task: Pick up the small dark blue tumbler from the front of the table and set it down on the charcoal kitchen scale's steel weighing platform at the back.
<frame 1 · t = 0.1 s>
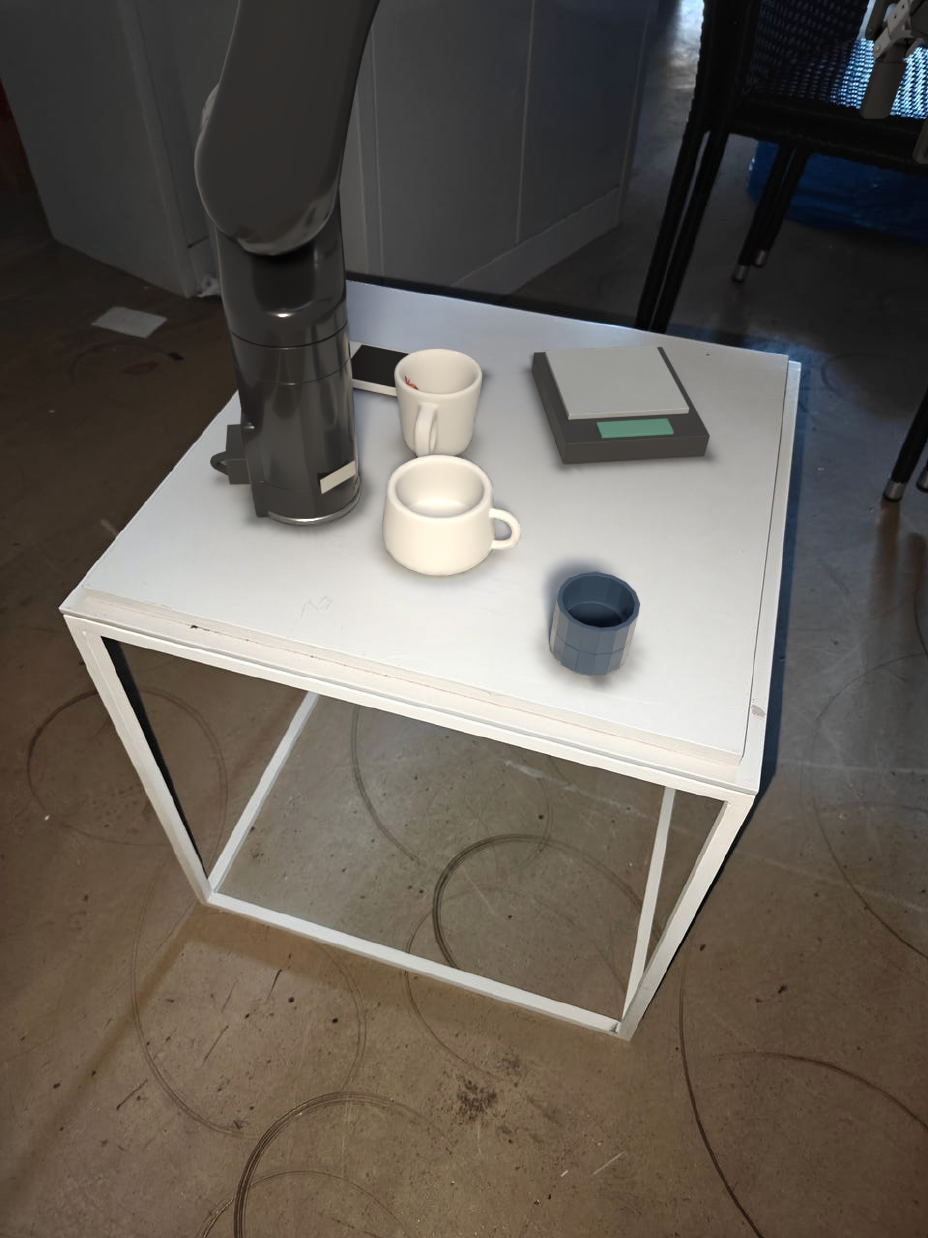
hand: (898, 138, 65), 29 cm above the table, tool pointing down, fingers open, 8 cm apart
mug: (451, 545, 77), on the table
cup: (434, 453, 86), on the table
scale: (613, 412, 91), on the table
smartphone: (401, 378, 94), on the table
dark blue tumbler: (588, 649, 69), on the table
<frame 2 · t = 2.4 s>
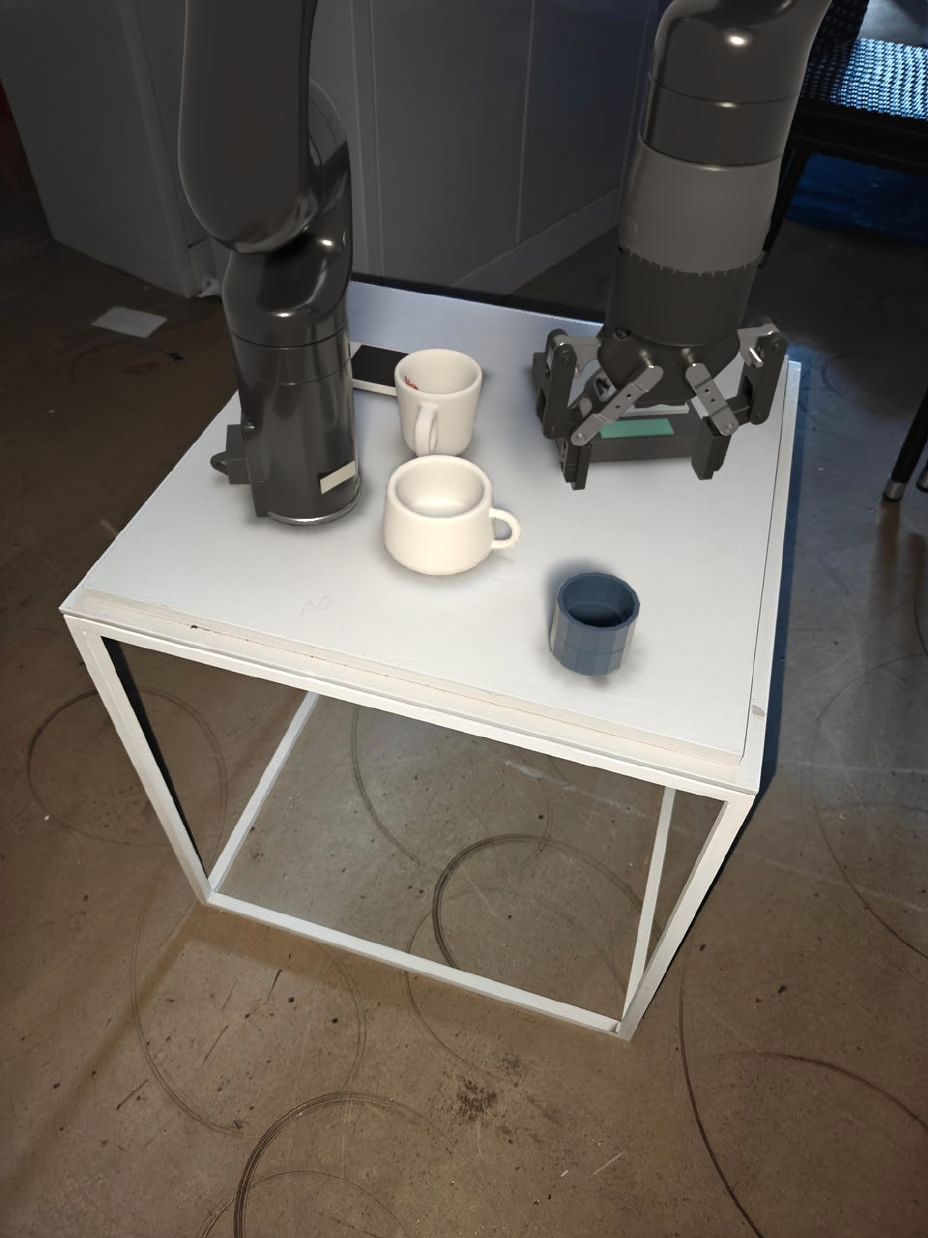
hand: (637, 477, 59), 16 cm above the table, tool pointing down, fingers open, 8 cm apart
nothing on the table moved.
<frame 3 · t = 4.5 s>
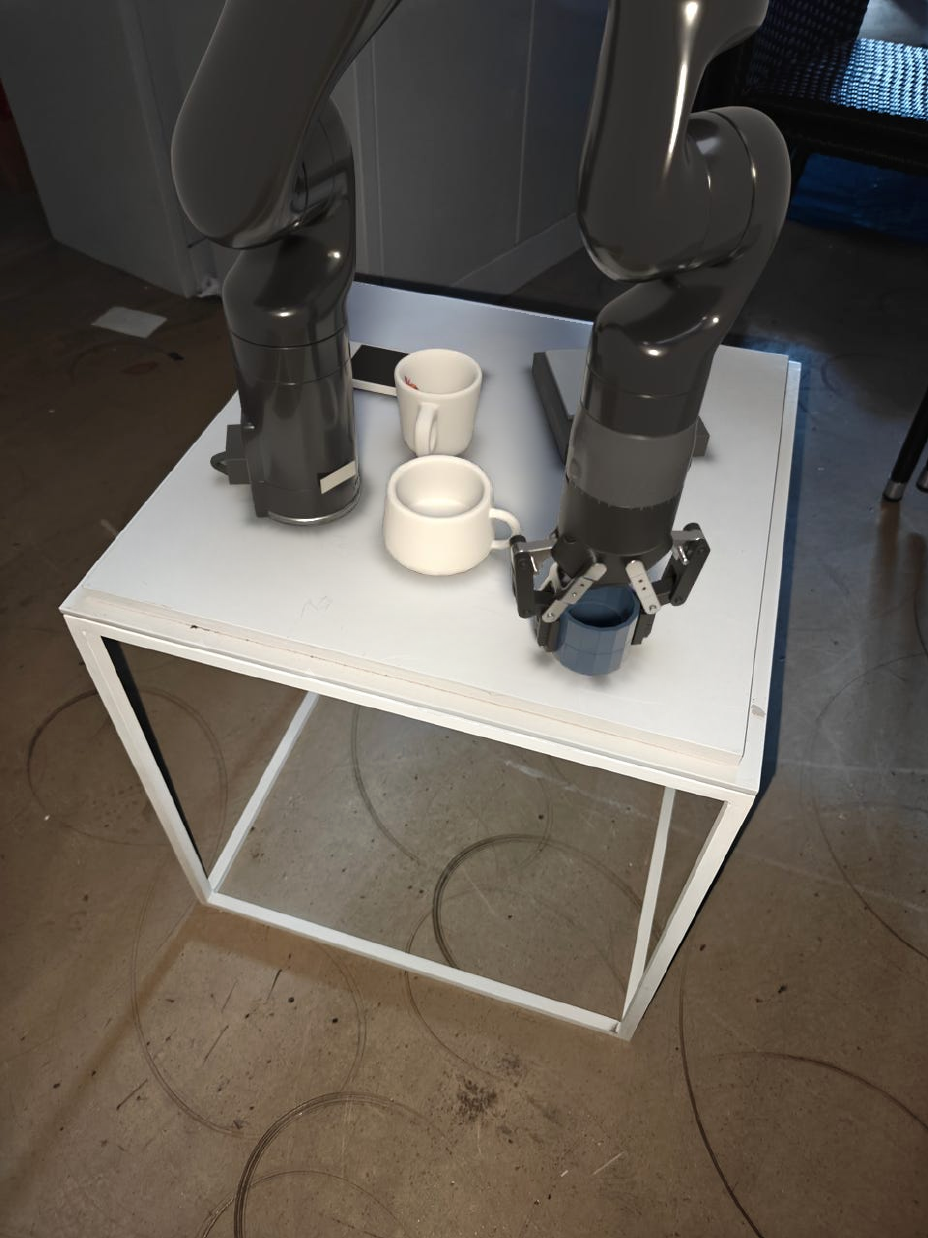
hand: (590, 639, 68), 1 cm above the table, tool pointing down, fingers closed on dark blue tumbler, 6 cm apart
dark blue tumbler: (588, 649, 69), on the table, touching gripper
everything else where it was.
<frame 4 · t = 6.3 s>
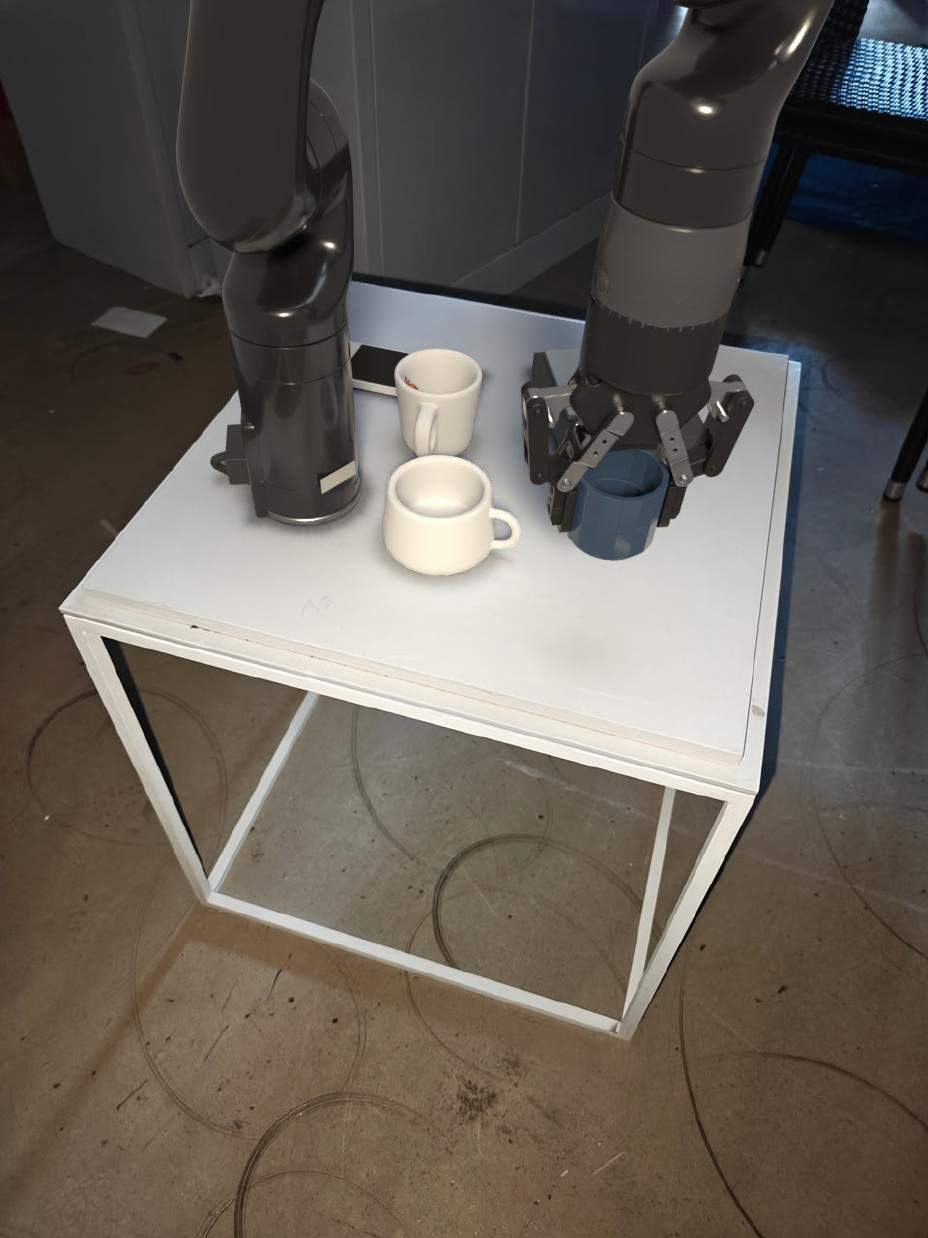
hand: (609, 521, 60), 13 cm above the table, tool pointing down, fingers closed on dark blue tumbler, 6 cm apart
dark blue tumbler: (607, 534, 61), point 12 cm above the table, touching gripper
everything else where it was.
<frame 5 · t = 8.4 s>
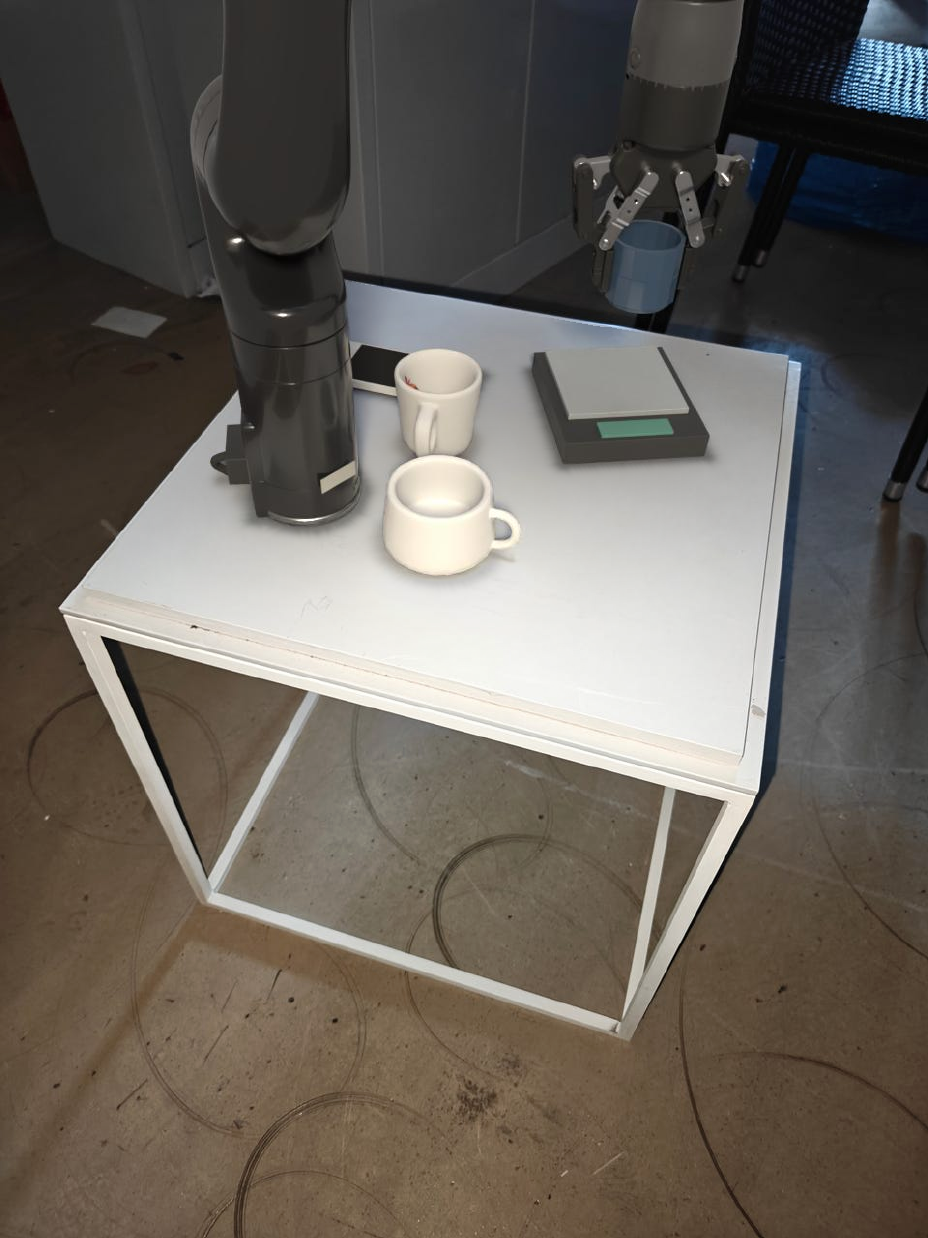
hand: (639, 285, 76), 16 cm above the table, tool pointing down, fingers closed on dark blue tumbler, 6 cm apart
dark blue tumbler: (637, 298, 77), point 15 cm above the table, touching gripper
everything else where it was.
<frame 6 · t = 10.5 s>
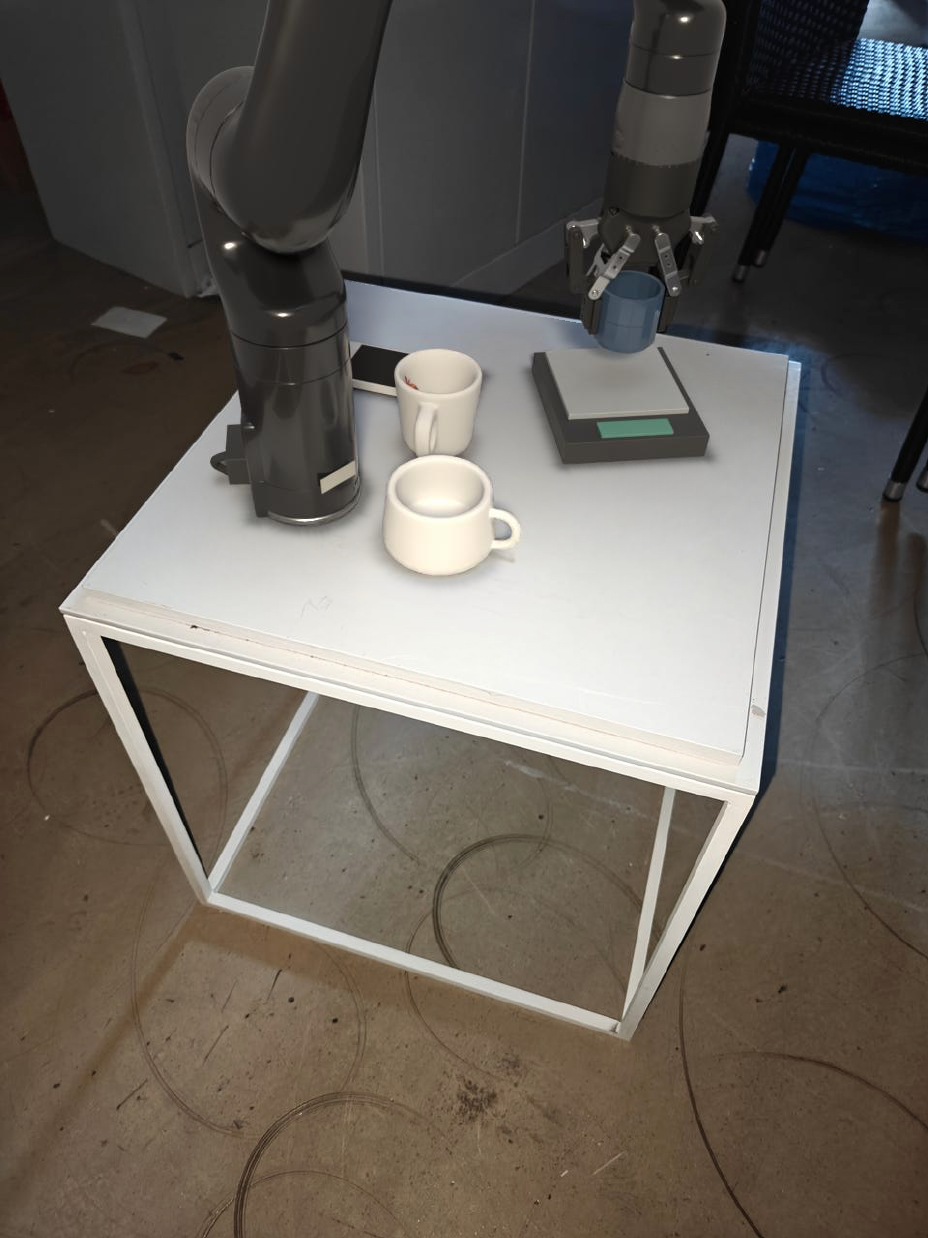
hand: (624, 328, 86), 8 cm above the table, tool pointing down, fingers closed on dark blue tumbler, 6 cm apart
dark blue tumbler: (622, 339, 87), point 7 cm above the table, touching gripper
everything else where it was.
when the fingers open (4 cm above the table, at t = 12.2 s): dark blue tumbler stays where it is, resting on scale.
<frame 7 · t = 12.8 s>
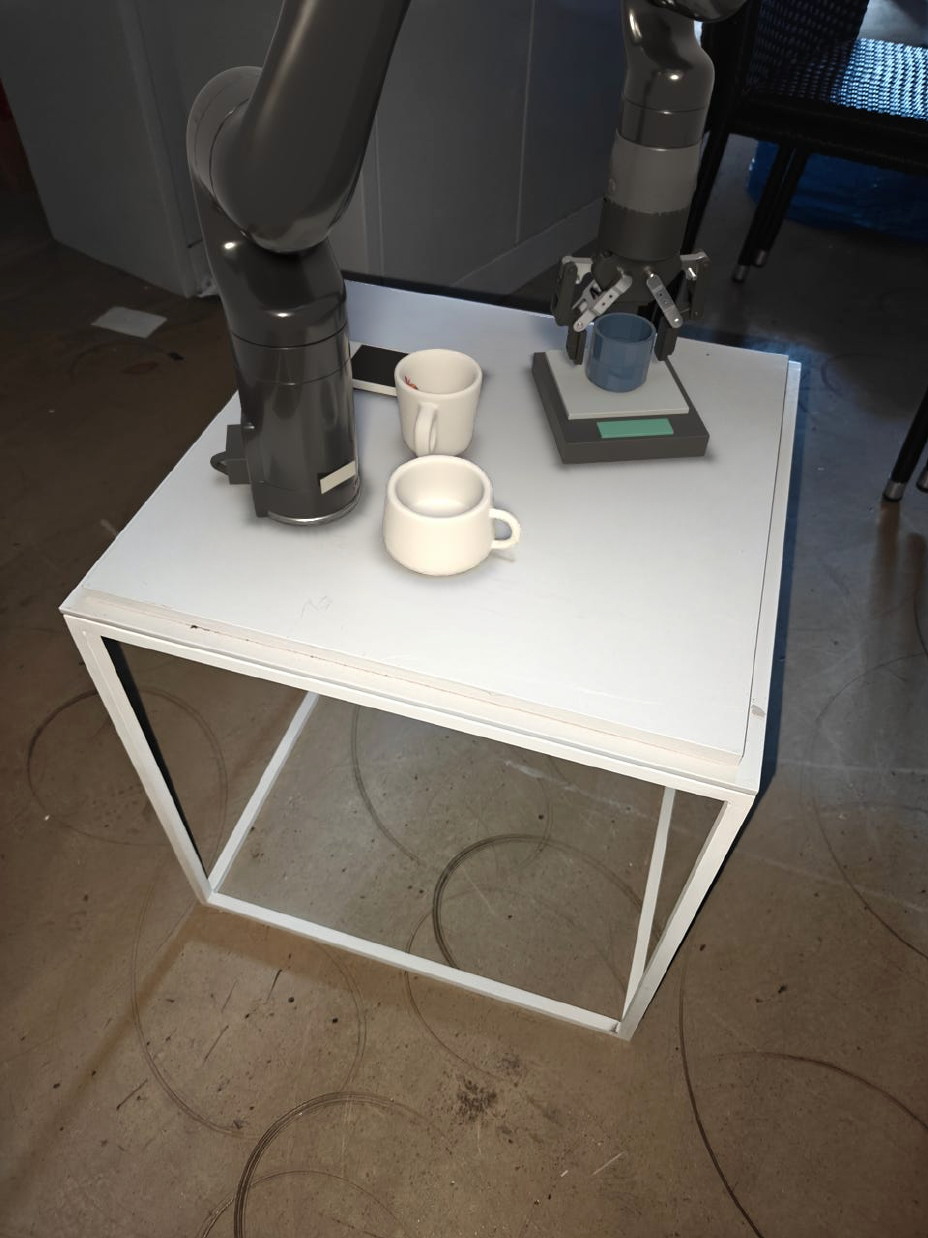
hand: (617, 358, 88), 5 cm above the table, tool pointing down, fingers open, 8 cm apart
dark blue tumbler: (615, 378, 90), point 3 cm above the table, touching scale
everything else where it was.
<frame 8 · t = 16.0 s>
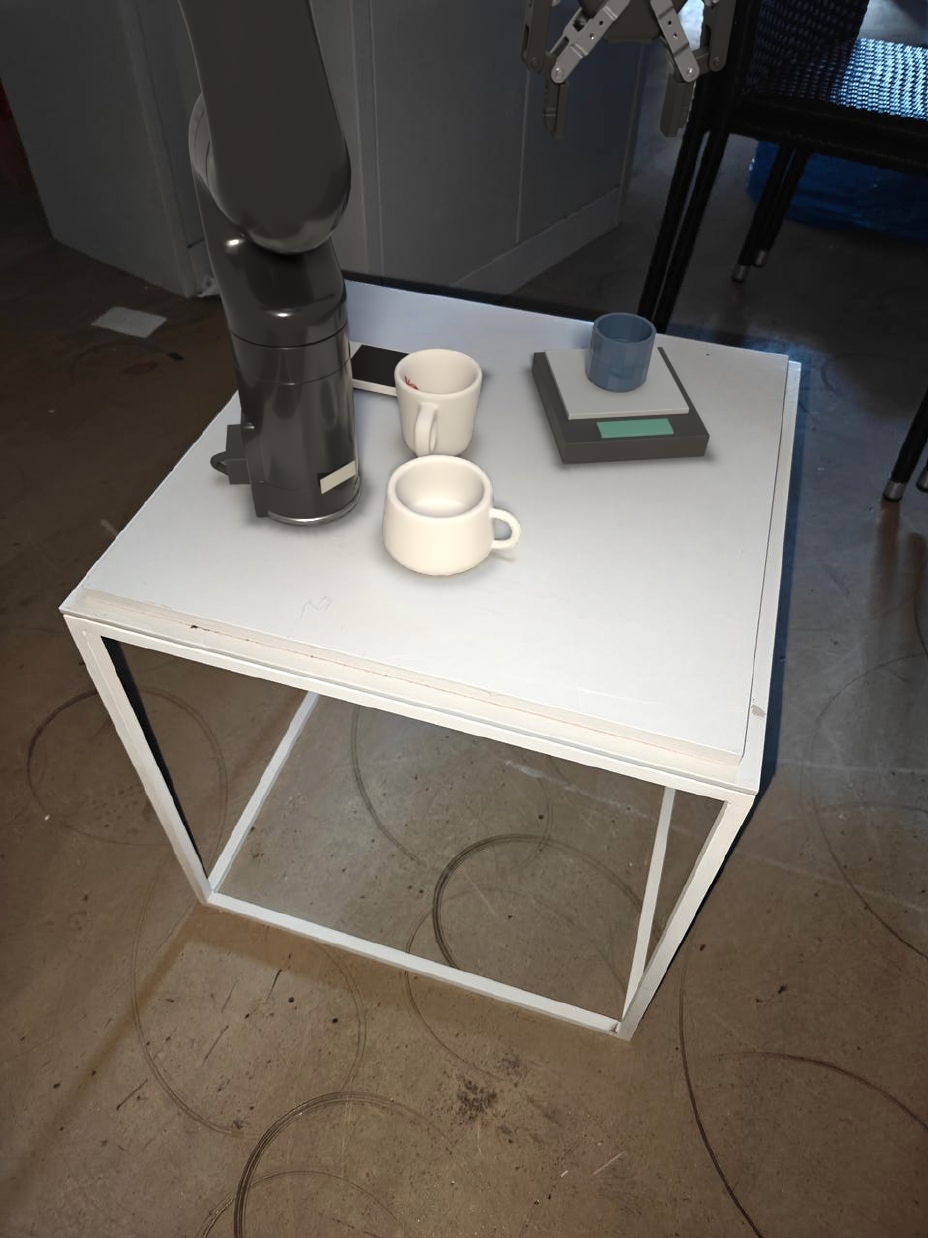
hand: (611, 134, 66), 28 cm above the table, tool pointing down, fingers open, 8 cm apart
nothing on the table moved.
at the end: dark blue tumbler inside the target area on the scale (0.1 cm from its centre), point 3.0 cm above the scale's base; dark blue tumbler tilted 0° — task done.
